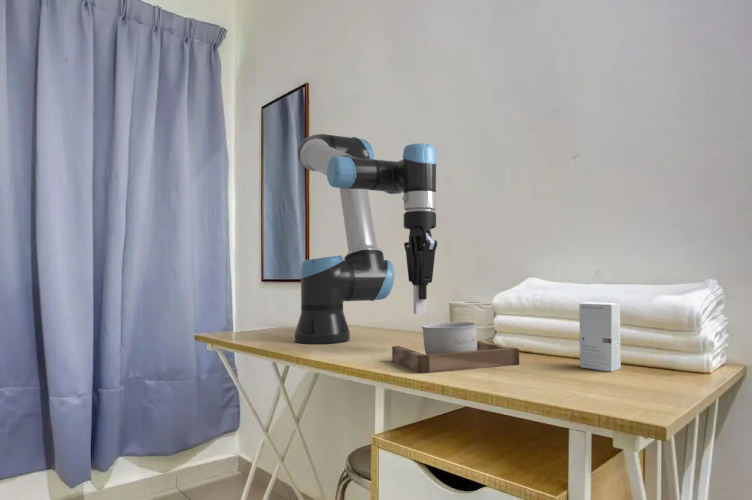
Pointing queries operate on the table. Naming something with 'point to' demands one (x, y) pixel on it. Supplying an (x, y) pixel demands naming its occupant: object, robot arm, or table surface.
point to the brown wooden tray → (457, 358)
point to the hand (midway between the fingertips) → (420, 313)
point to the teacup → (450, 337)
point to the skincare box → (600, 336)
